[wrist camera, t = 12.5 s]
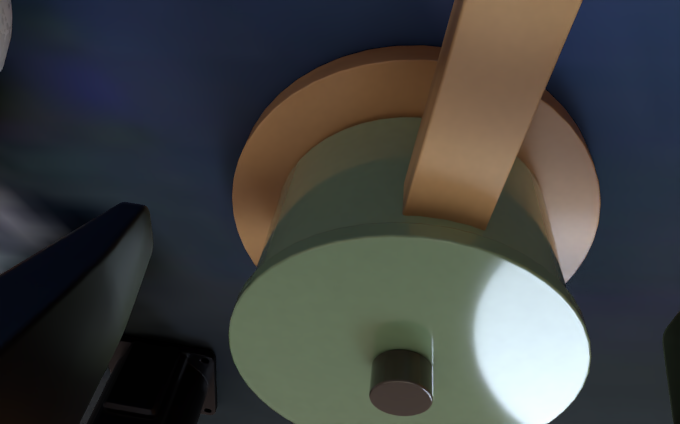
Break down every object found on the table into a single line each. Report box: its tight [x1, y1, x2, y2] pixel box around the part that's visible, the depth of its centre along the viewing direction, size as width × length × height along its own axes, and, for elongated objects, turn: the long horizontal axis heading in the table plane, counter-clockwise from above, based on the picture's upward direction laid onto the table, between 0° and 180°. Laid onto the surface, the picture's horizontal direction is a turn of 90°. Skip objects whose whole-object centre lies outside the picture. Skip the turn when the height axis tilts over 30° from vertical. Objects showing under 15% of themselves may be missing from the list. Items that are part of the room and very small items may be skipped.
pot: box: [228, 0, 591, 424], centre depth 18 cm, size 20×12×8 cm, turn 172°
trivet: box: [232, 45, 601, 283], centre depth 24 cm, size 15×15×1 cm
